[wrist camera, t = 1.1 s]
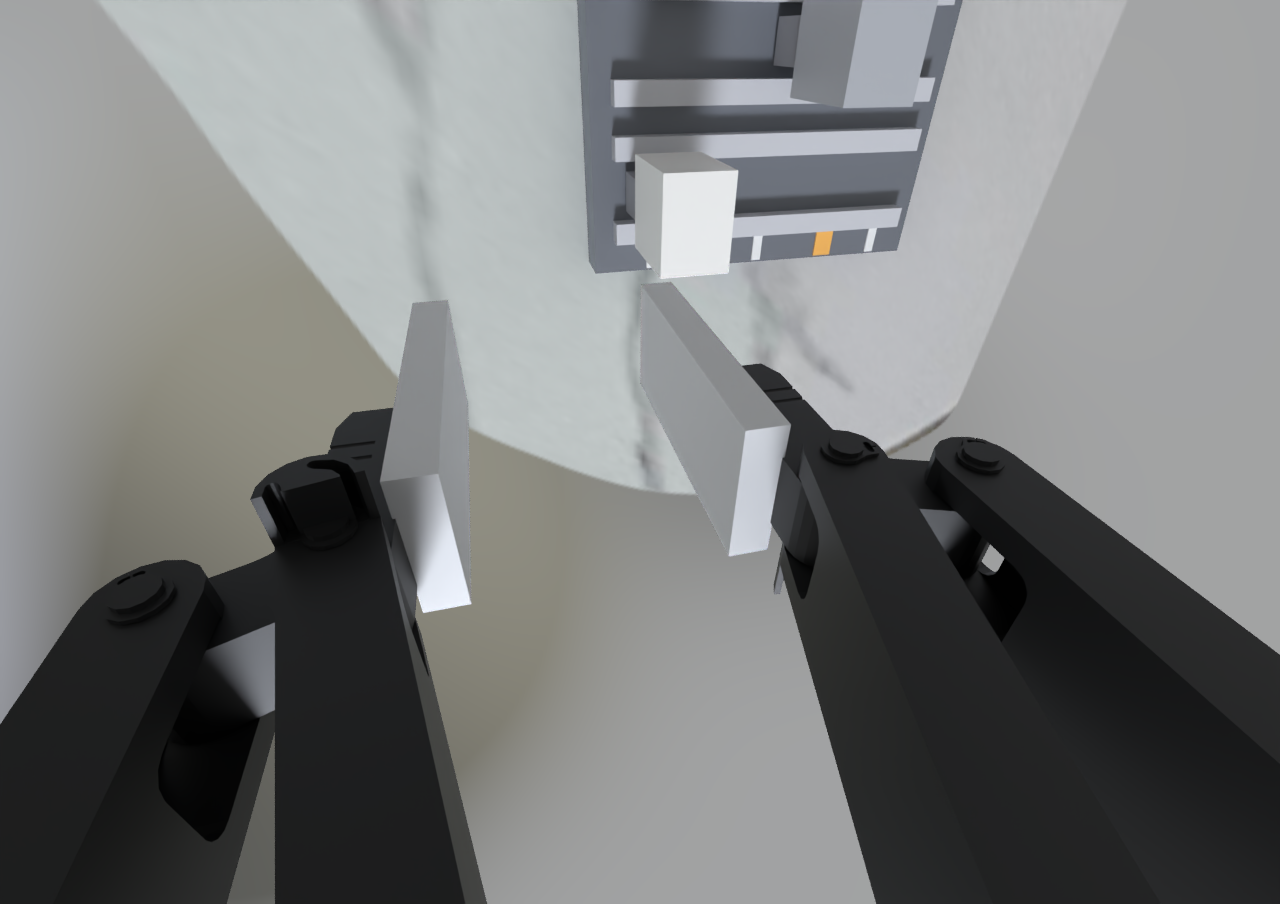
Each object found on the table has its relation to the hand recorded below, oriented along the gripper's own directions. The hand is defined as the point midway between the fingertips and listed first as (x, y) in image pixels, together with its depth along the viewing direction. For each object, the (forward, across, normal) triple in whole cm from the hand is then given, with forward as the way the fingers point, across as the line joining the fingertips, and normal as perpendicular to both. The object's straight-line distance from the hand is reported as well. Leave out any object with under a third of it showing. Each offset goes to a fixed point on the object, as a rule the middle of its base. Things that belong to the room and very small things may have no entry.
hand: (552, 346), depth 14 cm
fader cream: (+16, +7, 0) cm, 18 cm away
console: (+19, +13, +3) cm, 23 cm away
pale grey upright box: (+16, +14, +6) cm, 22 cm away
